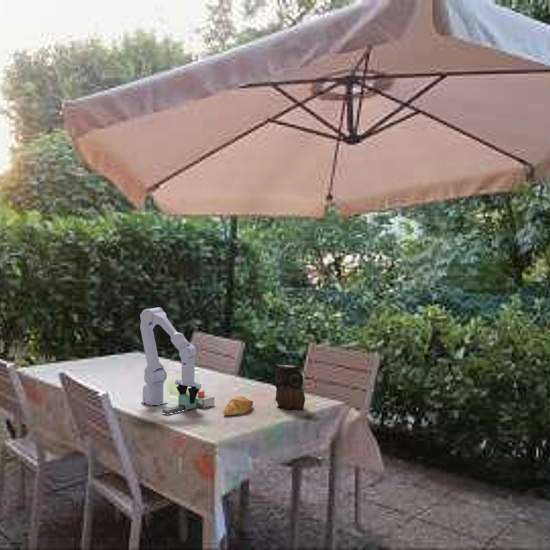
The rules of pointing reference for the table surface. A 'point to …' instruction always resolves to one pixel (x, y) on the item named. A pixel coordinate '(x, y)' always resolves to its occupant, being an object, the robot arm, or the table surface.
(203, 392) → the push button
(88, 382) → the table surface
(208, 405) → the block with square hole
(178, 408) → the rail
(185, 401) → the block
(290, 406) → the owl
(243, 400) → the croissant
